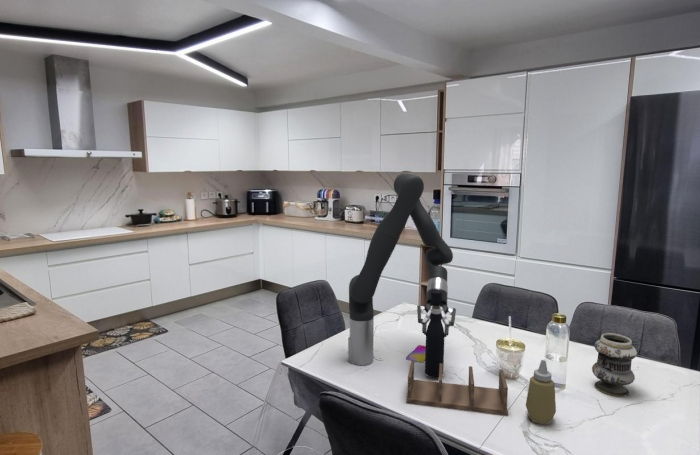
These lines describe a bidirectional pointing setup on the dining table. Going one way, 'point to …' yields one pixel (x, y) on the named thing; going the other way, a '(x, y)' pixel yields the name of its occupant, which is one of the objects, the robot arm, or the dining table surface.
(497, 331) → the dining table surface
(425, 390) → the slot rack
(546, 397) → the squeeze bottle
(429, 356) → the black bottle
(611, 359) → the apothecary jar
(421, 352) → the smartphone
